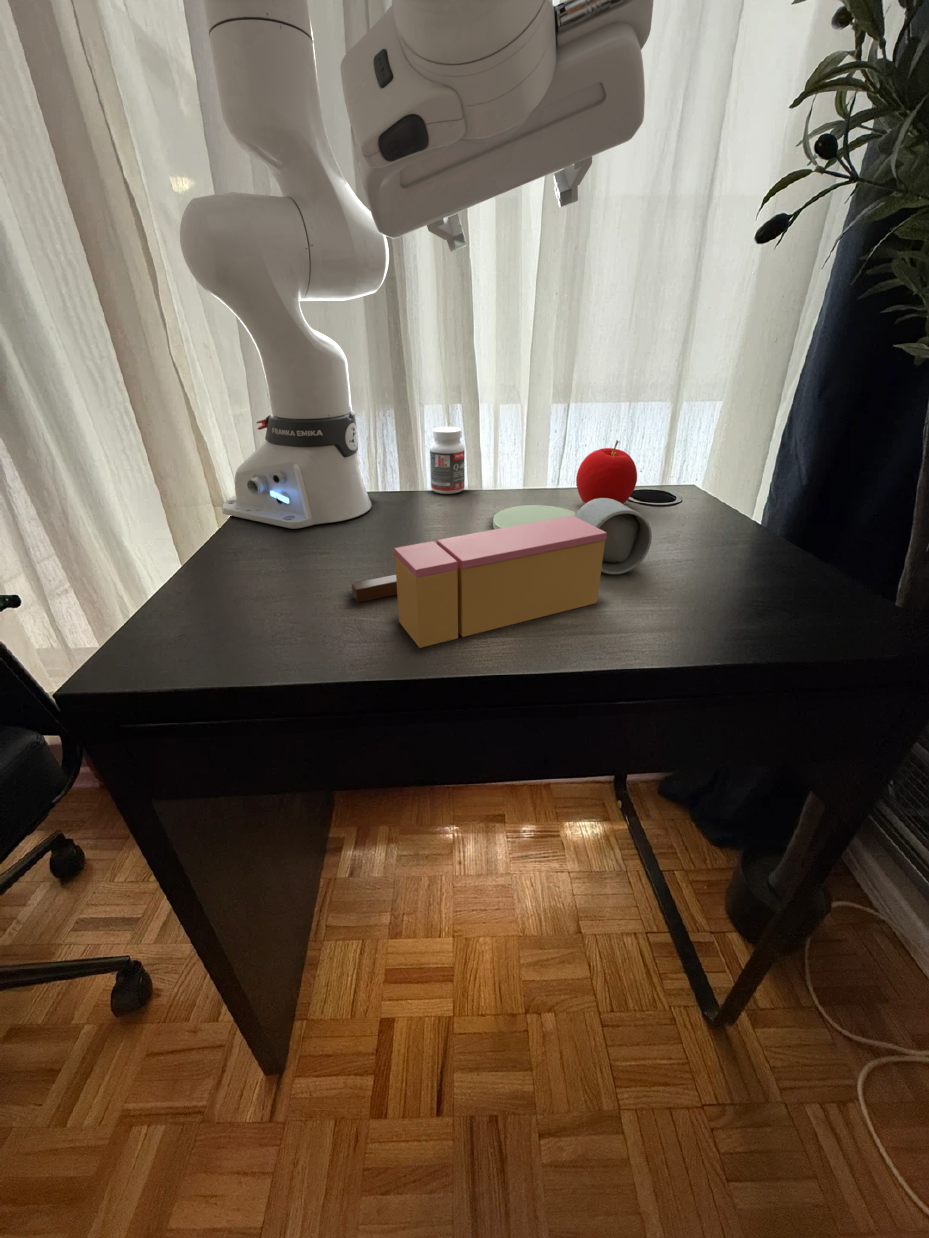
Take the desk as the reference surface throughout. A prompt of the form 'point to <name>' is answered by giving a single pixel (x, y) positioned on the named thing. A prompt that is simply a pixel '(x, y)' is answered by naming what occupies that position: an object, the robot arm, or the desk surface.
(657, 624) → the desk surface
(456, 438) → the pill bottle
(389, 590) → the brown stick with tip
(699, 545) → the desk surface
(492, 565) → the loaf cake
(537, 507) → the plate
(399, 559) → the cake slice
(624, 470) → the fruit
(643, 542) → the ceramic mug
